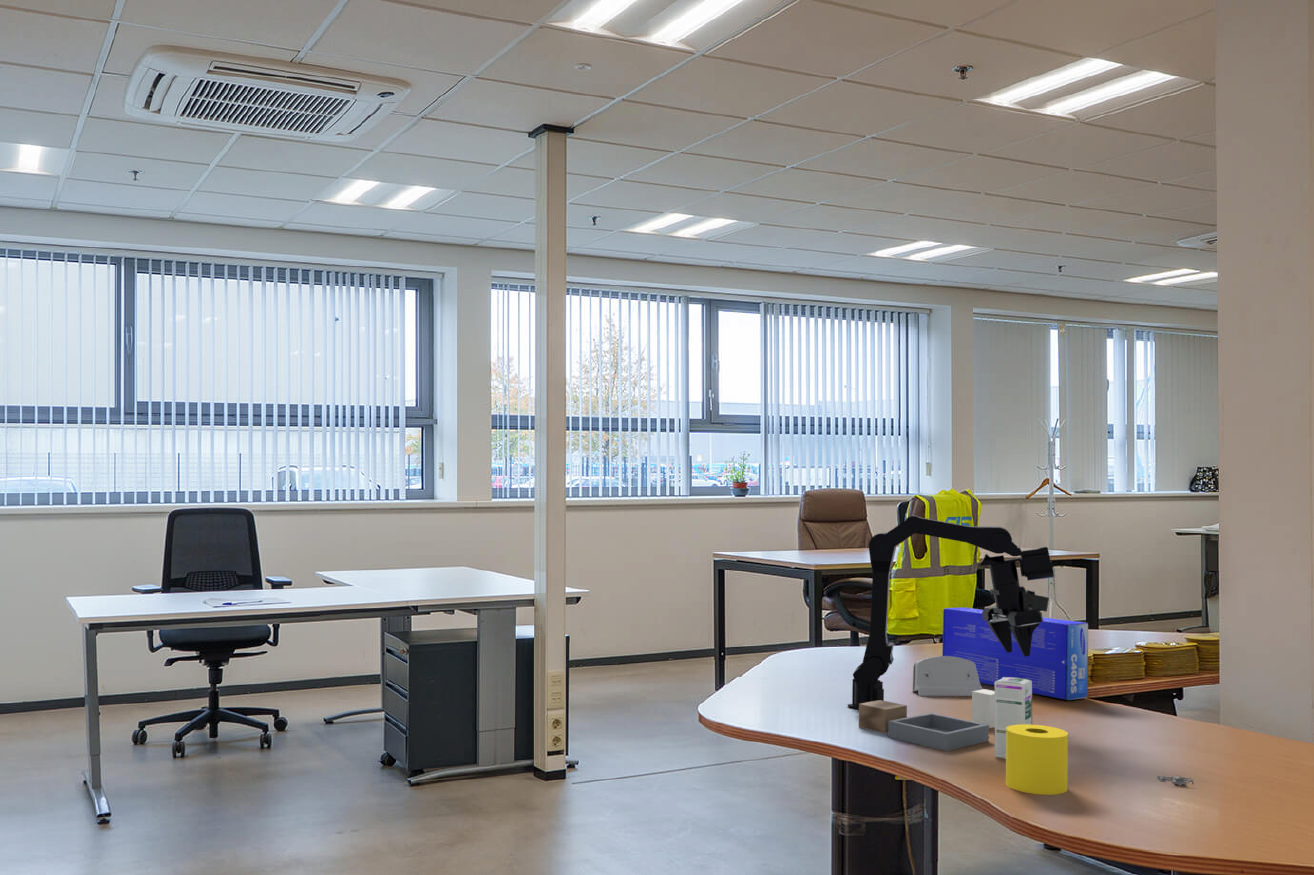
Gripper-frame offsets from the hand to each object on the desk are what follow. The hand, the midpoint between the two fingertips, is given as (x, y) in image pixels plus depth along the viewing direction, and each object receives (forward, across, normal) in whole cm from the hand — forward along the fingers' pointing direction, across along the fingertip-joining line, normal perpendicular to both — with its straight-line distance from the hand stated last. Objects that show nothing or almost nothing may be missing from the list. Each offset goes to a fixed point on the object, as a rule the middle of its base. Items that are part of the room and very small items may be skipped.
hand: (1018, 654), depth 246 cm
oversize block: (+9, -7, +35) cm, 36 cm away
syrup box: (+14, -31, +17) cm, 38 cm away
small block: (+13, -4, +11) cm, 18 cm away
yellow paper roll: (+14, -51, +22) cm, 57 cm away
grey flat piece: (+18, -46, -2) cm, 50 cm away
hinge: (+12, +31, +7) cm, 34 cm away
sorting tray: (+11, -17, +26) cm, 33 cm away
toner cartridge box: (+14, +39, -13) cm, 43 cm away
